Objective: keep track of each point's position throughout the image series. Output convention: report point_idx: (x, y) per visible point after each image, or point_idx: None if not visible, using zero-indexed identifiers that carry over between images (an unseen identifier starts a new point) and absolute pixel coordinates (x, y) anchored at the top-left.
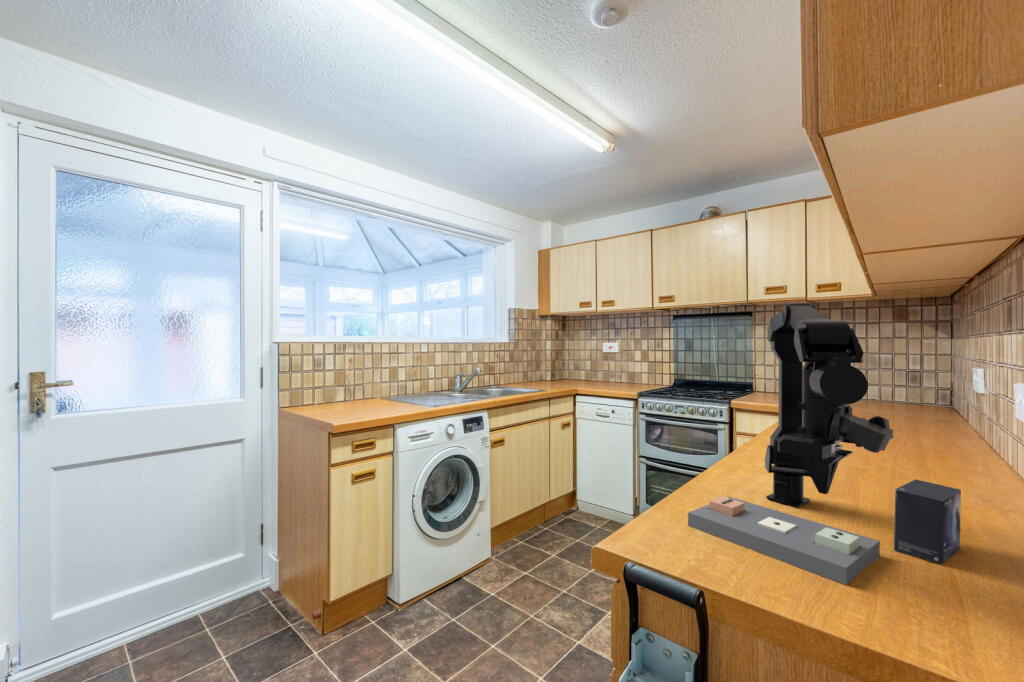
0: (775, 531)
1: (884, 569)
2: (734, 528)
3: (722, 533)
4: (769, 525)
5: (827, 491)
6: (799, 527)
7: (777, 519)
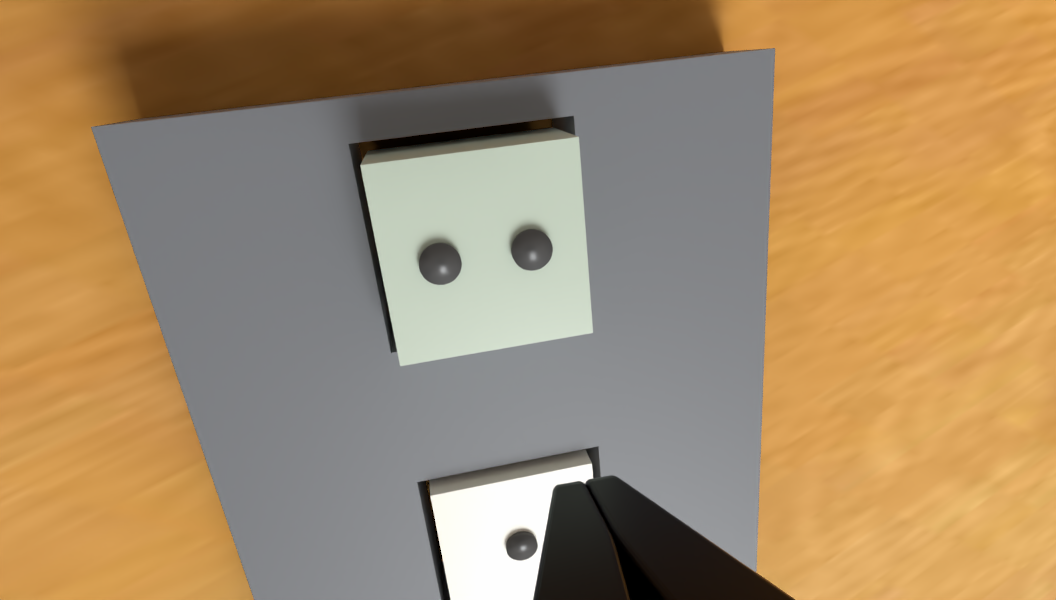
0: None
1: (322, 19)
2: None
3: None
4: None
5: (598, 491)
6: (421, 477)
7: (450, 582)
